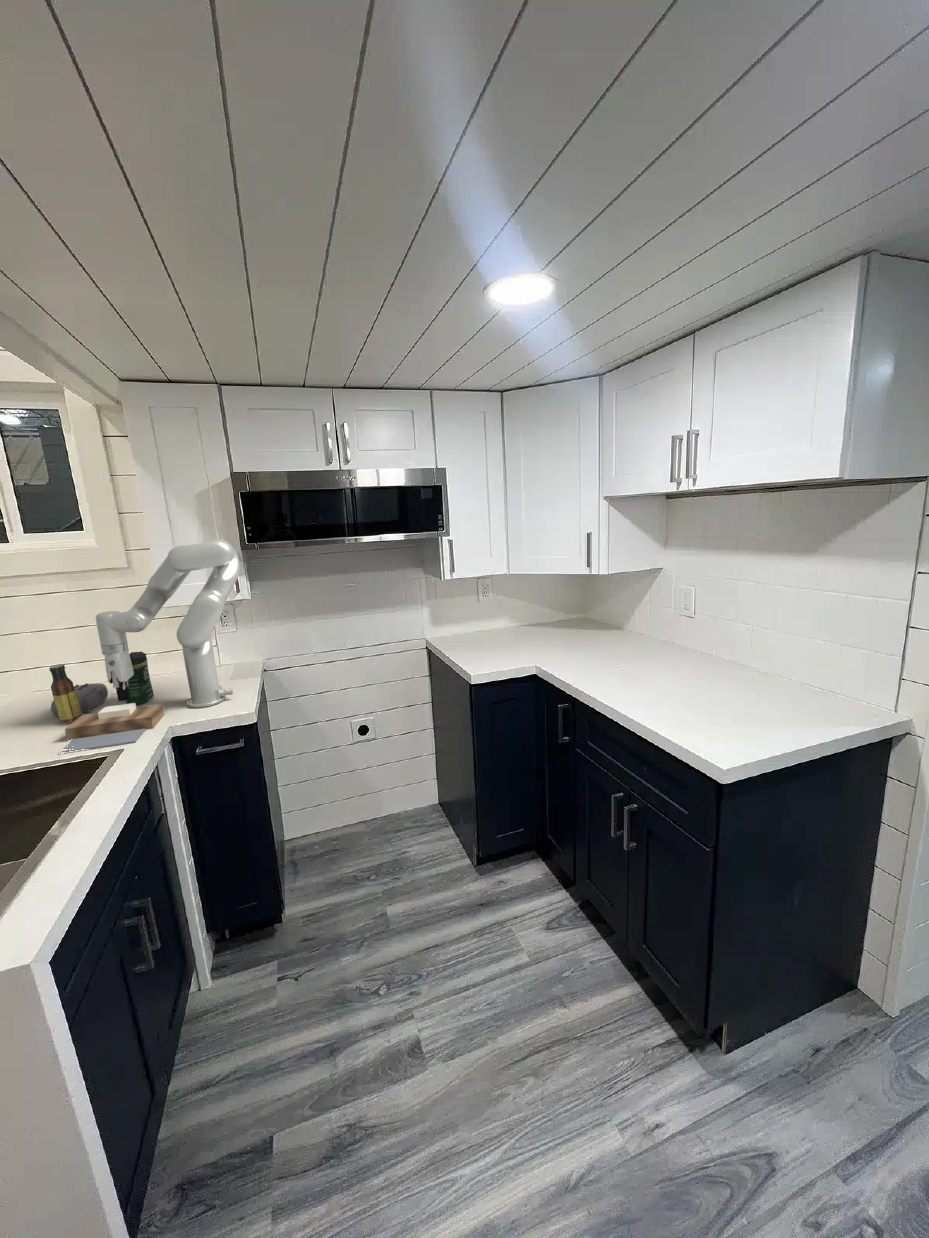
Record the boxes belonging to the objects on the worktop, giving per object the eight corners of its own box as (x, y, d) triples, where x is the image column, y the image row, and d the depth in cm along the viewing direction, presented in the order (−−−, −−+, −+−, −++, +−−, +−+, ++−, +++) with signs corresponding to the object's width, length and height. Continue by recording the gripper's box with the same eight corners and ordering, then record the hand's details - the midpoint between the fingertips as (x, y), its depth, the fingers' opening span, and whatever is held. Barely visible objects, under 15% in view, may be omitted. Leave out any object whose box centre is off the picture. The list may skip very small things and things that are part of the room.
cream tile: (136, 708, 175) (135, 702, 175) (130, 714, 169) (128, 709, 169) (106, 712, 173) (104, 706, 173) (98, 719, 167) (97, 713, 167)
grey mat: (146, 729, 167) (145, 728, 166) (135, 742, 157) (134, 741, 157) (74, 740, 162) (74, 738, 162) (58, 754, 152) (58, 752, 152)
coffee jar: (147, 704, 190) (137, 655, 187) (123, 707, 189) (113, 658, 185) (157, 695, 200) (148, 649, 196) (135, 698, 199) (125, 651, 195)
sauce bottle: (79, 715, 183) (67, 661, 179) (85, 719, 179) (72, 664, 175) (57, 722, 178) (43, 666, 174) (62, 726, 174) (48, 669, 170)
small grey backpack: (72, 702, 199) (42, 721, 180) (67, 681, 198) (37, 699, 178) (116, 697, 202) (91, 716, 183) (111, 676, 200) (86, 693, 181)
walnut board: (164, 715, 179) (161, 704, 178) (153, 728, 167) (150, 716, 166) (84, 726, 173) (81, 715, 172) (67, 741, 162) (64, 729, 161)
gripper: (119, 652, 169) (128, 705, 172) (135, 642, 183) (143, 691, 187) (92, 654, 167) (103, 708, 171) (110, 644, 181) (120, 694, 185)
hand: (124, 699), depth 179 cm, fingers closed
